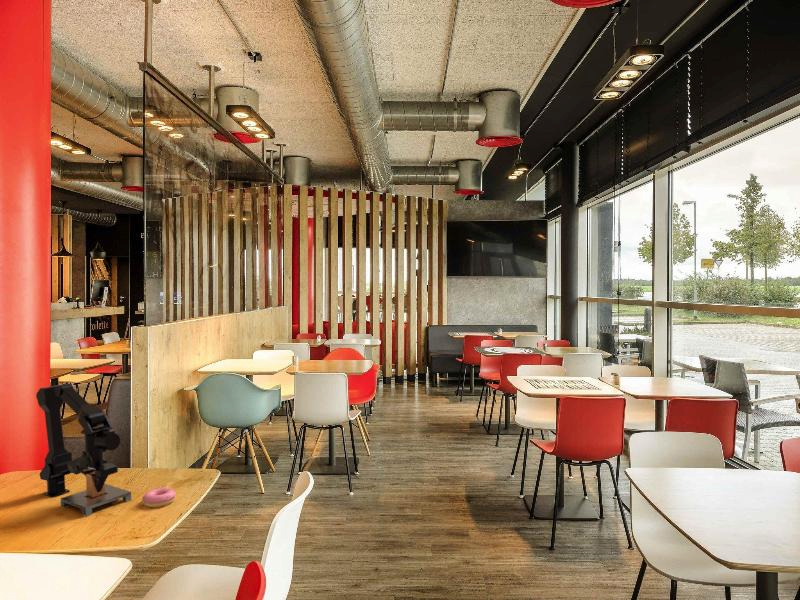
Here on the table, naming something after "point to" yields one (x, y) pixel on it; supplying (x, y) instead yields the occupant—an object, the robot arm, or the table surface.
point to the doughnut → (159, 497)
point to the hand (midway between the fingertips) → (95, 490)
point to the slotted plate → (95, 499)
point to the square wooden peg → (93, 487)
